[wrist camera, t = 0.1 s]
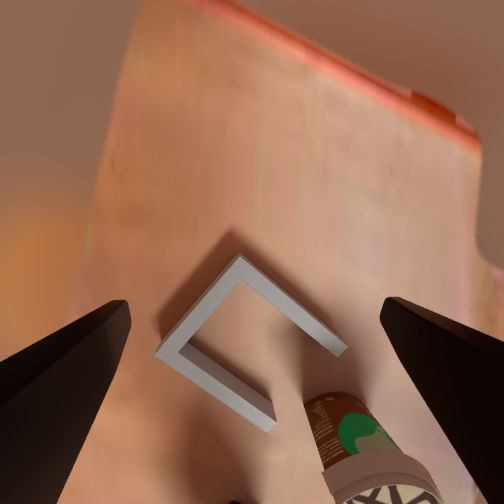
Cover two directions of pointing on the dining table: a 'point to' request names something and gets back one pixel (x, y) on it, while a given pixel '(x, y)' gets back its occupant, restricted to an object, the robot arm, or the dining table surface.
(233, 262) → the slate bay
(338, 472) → the food container
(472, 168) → the dining table surface
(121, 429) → the dining table surface
